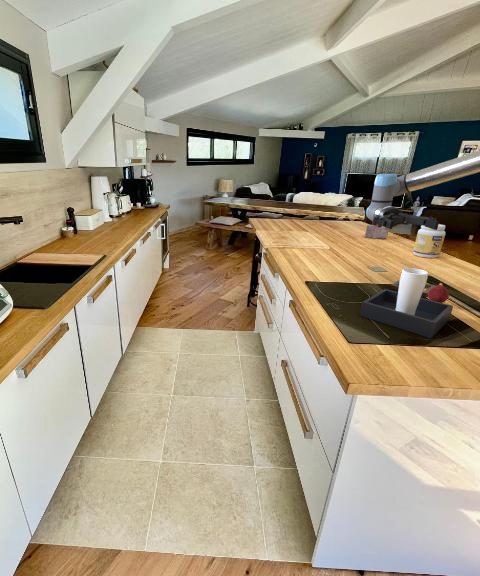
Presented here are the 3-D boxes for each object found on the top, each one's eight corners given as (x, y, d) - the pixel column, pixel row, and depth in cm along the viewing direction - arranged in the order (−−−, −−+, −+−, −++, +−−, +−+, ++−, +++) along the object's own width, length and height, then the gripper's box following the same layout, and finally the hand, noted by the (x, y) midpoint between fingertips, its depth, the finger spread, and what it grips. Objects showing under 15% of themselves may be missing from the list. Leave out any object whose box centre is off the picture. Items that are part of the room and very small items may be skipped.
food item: (386, 237, 218) (389, 223, 215) (386, 239, 212) (389, 225, 208) (364, 235, 225) (367, 222, 221) (364, 237, 218) (366, 223, 215)
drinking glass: (391, 309, 106) (401, 266, 101) (414, 312, 103) (426, 269, 98) (393, 317, 100) (403, 272, 95) (418, 321, 98) (430, 275, 92)
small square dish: (436, 289, 125) (437, 285, 125) (426, 297, 118) (427, 293, 117) (401, 281, 134) (402, 278, 134) (390, 288, 127) (390, 284, 126)
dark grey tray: (449, 320, 100) (453, 305, 98) (431, 338, 90) (436, 323, 88) (381, 301, 115) (384, 288, 113) (359, 315, 104) (362, 301, 102)
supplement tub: (430, 259, 165) (438, 227, 159) (407, 254, 176) (414, 224, 170) (444, 256, 170) (453, 225, 164) (421, 251, 181) (428, 222, 175)
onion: (449, 308, 108) (455, 286, 106) (430, 307, 109) (436, 285, 107) (439, 301, 114) (446, 281, 111) (422, 300, 115) (428, 280, 112)
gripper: (421, 226, 122) (453, 237, 103) (352, 225, 127) (371, 235, 107) (426, 206, 120) (459, 214, 100) (356, 206, 124) (375, 213, 104)
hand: (414, 225), depth 103 cm, fingers open, 13 cm apart
